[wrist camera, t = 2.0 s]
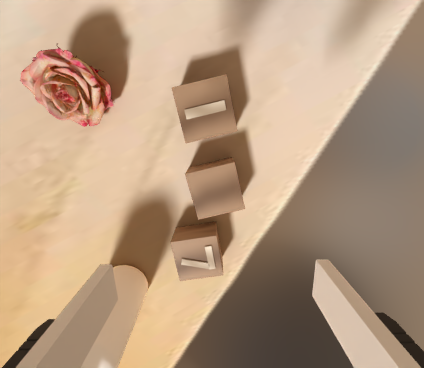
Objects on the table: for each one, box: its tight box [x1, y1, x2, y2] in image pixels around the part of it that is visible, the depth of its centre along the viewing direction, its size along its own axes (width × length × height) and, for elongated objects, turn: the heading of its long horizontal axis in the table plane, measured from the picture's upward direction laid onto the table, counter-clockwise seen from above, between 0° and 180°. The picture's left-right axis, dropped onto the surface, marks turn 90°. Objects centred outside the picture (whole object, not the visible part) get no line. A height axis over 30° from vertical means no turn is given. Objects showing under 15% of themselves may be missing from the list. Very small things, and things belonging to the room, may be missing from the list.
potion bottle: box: [81, 265, 148, 368], centre depth 31 cm, size 8×8×18 cm
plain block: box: [185, 157, 245, 220], centre depth 33 cm, size 7×7×5 cm
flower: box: [20, 43, 114, 127], centre depth 28 cm, size 10×9×8 cm
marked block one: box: [172, 74, 237, 143], centre depth 30 cm, size 7×7×5 cm
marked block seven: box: [171, 222, 223, 281], centre depth 35 cm, size 7×7×5 cm
